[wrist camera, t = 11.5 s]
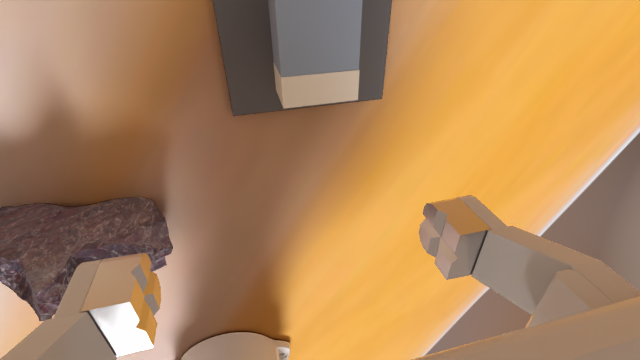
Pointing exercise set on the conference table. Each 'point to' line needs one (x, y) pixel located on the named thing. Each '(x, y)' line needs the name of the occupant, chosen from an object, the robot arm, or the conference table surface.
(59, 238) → the stone
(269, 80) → the mat
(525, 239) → the robot arm
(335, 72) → the block
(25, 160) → the conference table surface
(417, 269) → the conference table surface
